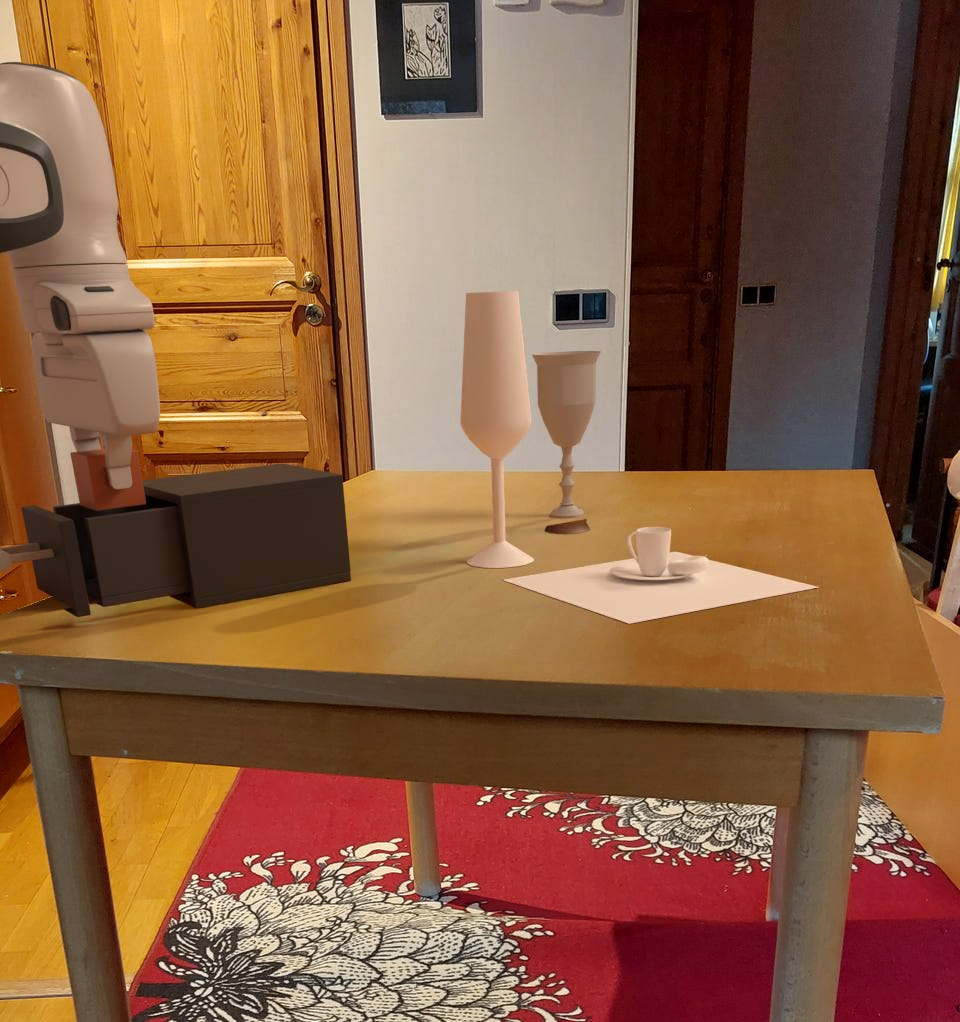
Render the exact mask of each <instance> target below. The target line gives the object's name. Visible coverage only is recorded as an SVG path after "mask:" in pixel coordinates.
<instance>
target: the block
mask: <svg viewBox="0 0 960 1022" xmlns="http://www.w3.org/2000/svg"><path fill="white" fill-rule="evenodd" d="M69 454H70V460H71V465H72V469H73V474H74V475H73V476H74V480H75V484H76V485H75V486H76V491H77V496H78V501H79V502H78V503H80V505H81V506H84V507H87V508H90V509H92V510H95V511H101V510H109V509H116V508H123V507H130V506H138V505H145V504H146V499H145V493H144V487H143V481H142V480H143V476H142V475H143V474H142V469H141V464H140V458H139V452H138V450H135V449H132V453H131V462H130V470H131V477H132V486H131V487H130V488H125V489H113V488H110V487H109V486H108V485H107V484H106V477H105V473H104V466H106V460H105V448H101V449H98V450H89V451H80V452H77V451H73V452H70V453H69Z"/></svg>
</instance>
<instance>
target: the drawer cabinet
mask: <svg viewBox="0 0 960 1022" xmlns="http://www.w3.org/2000/svg"><path fill="white" fill-rule="evenodd" d="M142 481H143V487H144V493H145V495H148V496H151V497H155V498H158V499H162V500H165V501H169V502H172V503H176V504H178V509H179V516H180V523H181V530H182V537H183V543H184V550H185V557H186V564H187V571H188V578H189V585H190V591H191V592H188V593H183V594H177V595H171V596H169V597H170V598H171V599H174V600H176V601H178V602H181V603H182V604H185V605H188V606H190V607H191V608H194V609H201V608H207V607H212V606H219V605H224V604H229V603H235V602H241V601H246V600H251V599H256V598H257V599H258V598H263V597H267V596H273V595H278V594H279V595H280V594H283V593H290V592H296V591H301V590H306V589H311V588H312V589H313V588H316V587H322V586H323V587H324V586H327V585H328V586H329V585H333V584H338V583H345V582H350V581H352V574H351V572H352V571H351V560H350V559H351V558H350V549H349V535H348V525H347V524H348V523H347V514H346V503H345V502H346V501H345V490H344V489H345V488H344V479H343V474H340V473H336V472H330V471H325V470H319V469H315V468H309V467H303V466H299V465H292V464H289V463H288V464H286V463H275V464H268V465H259V466H258V465H257V466H251V467H242V468H233V469H225V470H216V471H210V472H209V471H208V472H201V473H192V474H183V475H176V476H175V475H174V476H166V477H159V478H149V479H142ZM262 596H263V597H262Z"/></svg>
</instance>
